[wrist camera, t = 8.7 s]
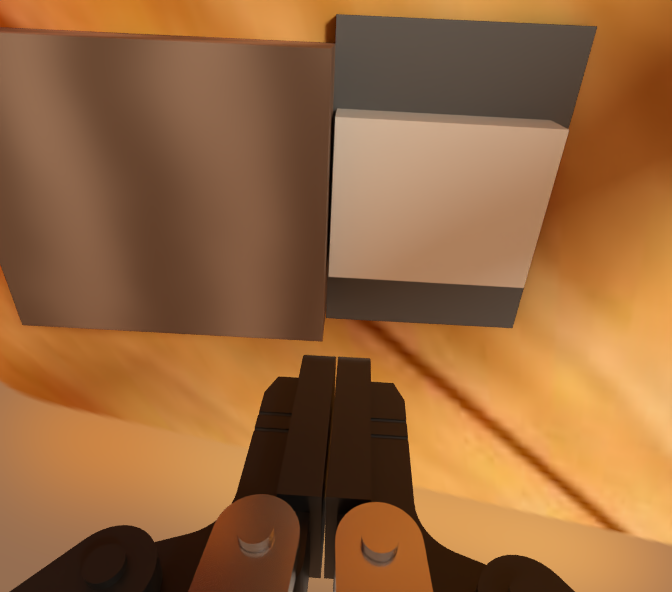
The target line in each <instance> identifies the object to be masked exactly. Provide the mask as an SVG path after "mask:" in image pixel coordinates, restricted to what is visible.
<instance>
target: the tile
mask: <svg viewBox="0 0 672 592" xmlns="http://www.w3.org/2000/svg"><path fill="white" fill-rule="evenodd" d="M568 133H569V129H567V128H565V127H563V126H561V125H559V124H557V123H555V122H553V121H551V120H539V119H521V118H503V117H484V116H466V115H448V114H430V113H411V112H393V111H375V110H357V109H339V108H337V111H336V116H335V136H334V159H333V183H332V206H331V230H330V253H329V277H342V278H359V279H377V280H394V281H411V282H428V283H446V284H463V285H480V286H497V287H514V288H524V286H525V282H526V279H527V275H528V272H529V268H530V265H531V261H532V258H533V254H534V251H535V247H536V244H537V240H538V237H539V233H540V230H541V226H542V223H543V220H544V216H545V213H546V209H547V206H548V202H549V199H550V195H551V192H552V188H553V185H554V181H555V178H556V174H557V171H558V167H559V164H560V160H561V157H562V154H563V150H564V147H565V143H566V140H567V136H568Z"/></svg>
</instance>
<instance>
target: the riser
mask: <svg viewBox="0 0 672 592" xmlns="http://www.w3.org/2000/svg"><path fill="white" fill-rule="evenodd" d="M335 44H336V43H320V42H298V41H277V40H256V39H235V38H214V37H193V36H171V35H150V34H129V33H108V32H87V31H65V30H44V29H23V28H2V27H0V265H1V267H2V270H3V273H4V276H5V278H6V281H7V284H8V287H9V289H10V292H11V295H12V298H13V300H14V303H15V306H16V309H17V311H18V314H19V317H20V320H21V322H22V325H32V326H50V327H68V328H86V329H105V330H123V331H141V332H159V333H178V334H196V335H214V336H233V337H251V338H269V339H287V340H306V341H322V340H323V330H324V321H325V312H326V302H327V273H328V244H329V216H330V187H331V158H332V130H333V101H334V72H335Z"/></svg>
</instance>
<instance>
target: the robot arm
mask: <svg viewBox="0 0 672 592" xmlns="http://www.w3.org/2000/svg"><path fill="white" fill-rule="evenodd" d="M335 371H336V357H330V356H312V355H304V356H303V359H302V364H301V369H300V374H299V378H293V377H278V378H277V379H276V380H275V381H274V382H273V383H272V384H271V386H270V387H269V388H268V389H267V390H266V391H265V392H264V396H263V400H262V403H261V407H260V410H259V415H258V418H257V421H256V425H255V431H254V432H253V436H252V439H251V443H250V446H249V450H248V454H247V457H246V461H245V465H244V468H243V472H242V475H241V479H240V482H239V486H238V490H237V493H236V496H235V498H234V500H233V502H232V504H231V505H229V506H228V507H227V508H226V509H225V510H224V511H223V512H222V513H221V514H220V516H219V517H218V519H217V520H216V521H215V522H214V523H212V524H210V525H209V526H207V527H205V528H203V529H201V530H199V531H196V532H193V533H190V534H186V535H182V536H178V537H174V538H170V539H166V540H162V541H158V542H154V541H153V539H152V538H151V536H150V535H149V534H148V533H147V532H145V531H144V530H142V529H140V528H137V527H134V526H128V525H122V526H114V527H109V528H106V529H103V530H101V531H98V532H96V533H94V534H92V535H91V536H89V537H87V538H86V539H84V540H83V541H82V542H80V543H79V544H77V545H76V546H74V547H73V548H72V549H70V550H69V551H67V552H66V553H65V554H63V555H62V556H60V557H59V558H57V559H56V560H54V561H53V562H52V563H50V564H49V565H47V566H46V567H44V568H43V569H41V570H40V571H39V572H37V573H36V574H34V575H33V576H31V577H30V578H29V579H27V580H26V581H24V582H23V583H21V584H20V585H19V586H17V587H16V588H14V589H13V590H12V591H10V592H307V589H308V579H309V577H313V578H321V567H322V554H323V543H324V532H325V564H324V565H325V566H324V578H329V579H334V583H333V592H575V591H573V590H572V589H571V588H570V587H569V586H568V585H567V584H566V583H565V582H564V581H563V580H562V579H561V578H560V577H559V576H557V575H556V574H555V573H554V572H553V571H552V570H551V569H549V568H548V567H546V566H544V565H543V564H542V563H540V562H538V561H535V560H533V559H531V558H528V557H524V556H519V555H506V556H501V557H498V558H495V559H494V560H492V561H491V562H489V563H488V564H487V565H485V564H483V563H480V562H478V561H475V560H472V559H470V558H468V557H465V556H463V555H460V554H458V553H455V552H453V551H451V550H449V549H447V548H446V547H444V546H442V545H441V544H439V543H438V542H437V541H436V540H434V539H433V538H432V537H431V536H430V535H429V534H428V532H426V530H425V529H424V527H423V526H422V524H421V523H420V521H419V519H418V516H417V514H416V511H415V505H414V496H413V486H412V475H411V465H410V454H409V444H408V433H407V424H406V412H405V401H404V399H403V397H402V396H401V394H400V393H399V391H398V390H397V388H396V387H395V385H394V384H393V383H382V382H371V361H370V359H368V358H350V357H338V366H337V377H336V388H335Z"/></svg>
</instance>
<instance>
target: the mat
mask: <svg viewBox="0 0 672 592" xmlns="http://www.w3.org/2000/svg"><path fill="white" fill-rule="evenodd" d="M596 29H597V26H575V25H554V24H532V23H511V22H489V21H468V20H446V19H425V18H403V17H382V16H360V15H339V14H337V15H336V44H335V72H334V101H333V130H332V158H331V187H330V216H329V244H328V273H327V302H326V318H335V319H354V320H372V321H391V322H409V323H428V324H446V325H465V326H483V327H502V328H513V324H514V321H515V317H516V314H517V310H518V307H519V303H520V299H521V296H522V292H523V289H524V288H514V287H497V286H480V285H463V284H446V283H428V282H411V281H394V280H377V279H359V278H342V277H329V253H330V230H331V206H332V183H333V159H334V136H335V116H336V111H337V108H339V109H357V110H375V111H393V112H411V113H430V114H448V115H466V116H484V117H503V118H521V119H539V120H551V121H553V122H555V123H557V124H559V125H561V126H563V127H565V128H567V129H569V125H570V122H571V118H572V115H573V111H574V107H575V104H576V100H577V97H578V93H579V90H580V86H581V83H582V79H583V76H584V72H585V68H586V65H587V61H588V58H589V54H590V51H591V47H592V44H593V40H594V36H595V33H596Z"/></svg>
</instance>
